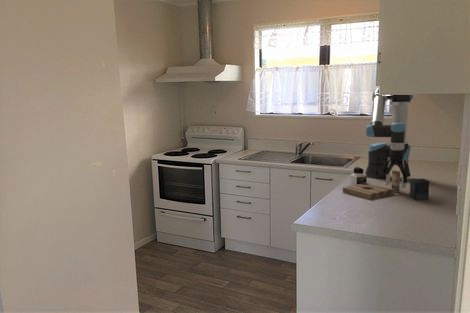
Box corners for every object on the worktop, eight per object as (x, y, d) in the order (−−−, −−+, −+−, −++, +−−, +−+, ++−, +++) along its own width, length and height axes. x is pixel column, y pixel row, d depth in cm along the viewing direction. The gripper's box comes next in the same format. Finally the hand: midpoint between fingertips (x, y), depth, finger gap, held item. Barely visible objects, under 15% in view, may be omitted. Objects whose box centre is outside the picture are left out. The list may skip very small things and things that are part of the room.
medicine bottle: (356, 188, 241) (357, 169, 239) (350, 185, 247) (350, 167, 246) (366, 187, 242) (367, 168, 241) (360, 184, 249) (360, 166, 247)
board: (365, 187, 241) (365, 182, 241) (393, 194, 224) (393, 189, 224) (342, 192, 231) (342, 187, 231) (369, 199, 214) (370, 194, 214)
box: (422, 196, 217) (423, 178, 215) (428, 199, 211) (429, 180, 210) (409, 197, 216) (410, 179, 215) (414, 200, 211) (415, 181, 209)
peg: (394, 189, 234) (395, 170, 232) (401, 191, 230) (401, 171, 228) (389, 190, 232) (390, 171, 230) (396, 192, 228) (397, 172, 226)
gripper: (376, 148, 235) (375, 183, 238) (410, 152, 216) (408, 191, 219) (385, 146, 239) (383, 182, 242) (418, 151, 219) (416, 189, 223)
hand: (395, 186), depth 231 cm, fingers open, 10 cm apart
